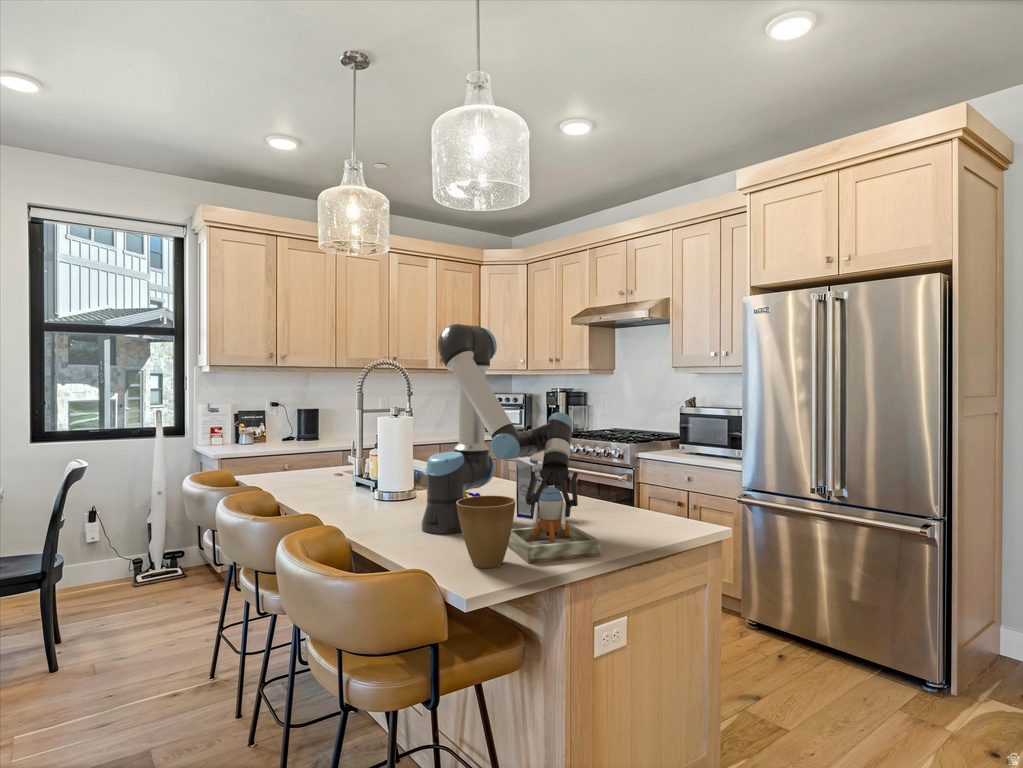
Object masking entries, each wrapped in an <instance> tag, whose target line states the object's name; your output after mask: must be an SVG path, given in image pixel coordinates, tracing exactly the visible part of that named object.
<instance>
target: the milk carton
mask: <svg viewBox="0 0 1023 768" xmlns="http://www.w3.org/2000/svg"><path fill="white" fill-rule="evenodd" d="M515 464H516V465H515V469H516V470H515V471H516V472H515V473H516V474H515V479H516V481H515V482H516V483H515V484H516V486H515V487H516V491H515V492H516V494H515V495H516V518H522V517H524V518H523V519H529V518H530V519H529V520H531V519H532V520H533V516H531V512H530V510H531V505H527V503H526V499H525V498H526V494H527V491H528V487H529V484H530V480H531V472H532V471H534V472H535V473H537V472H540V471H541V469H542V466H543V461H540V460H539V459H538V458H536V457H530V456H528V457H523V458H522V457H517V458H516V459H515ZM542 480H543V479H542V478H541V477H539V479H538V481H536V487H535V490H534V494H533V497H534V495H535V493H536V491H537V490H538V488H539V486H540V485H541V483H542ZM533 497H532V498H533ZM538 504H539V503H538ZM538 518H540V516H539V514H538Z"/></svg>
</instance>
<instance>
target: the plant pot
mask: <svg viewBox="0 0 1023 768" xmlns="http://www.w3.org/2000/svg"><path fill="white" fill-rule="evenodd" d="M516 503H517V499H515V497H511V496H505V495H481V496H474V497H473V496H468V498H463V499H460V500H458V501H457V502H456V504H457V510H458V516H459V521H460V526H461V530H462V533H461V534H462V537H463V541H464V544H465V547H466V549H467V550H466V551H467V553H468V556H469V558H470V560H471V563H472V565H473V566H474V567H476V568H480V569H492V568H497V567H500V566H501V565H503V562H504V559H505V557H506V554H507V550H508V548H509V547H508V543H509V539H510V535H511V530H512V529H513V524H514V519H515V512H516V511H515V510H516Z"/></svg>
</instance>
